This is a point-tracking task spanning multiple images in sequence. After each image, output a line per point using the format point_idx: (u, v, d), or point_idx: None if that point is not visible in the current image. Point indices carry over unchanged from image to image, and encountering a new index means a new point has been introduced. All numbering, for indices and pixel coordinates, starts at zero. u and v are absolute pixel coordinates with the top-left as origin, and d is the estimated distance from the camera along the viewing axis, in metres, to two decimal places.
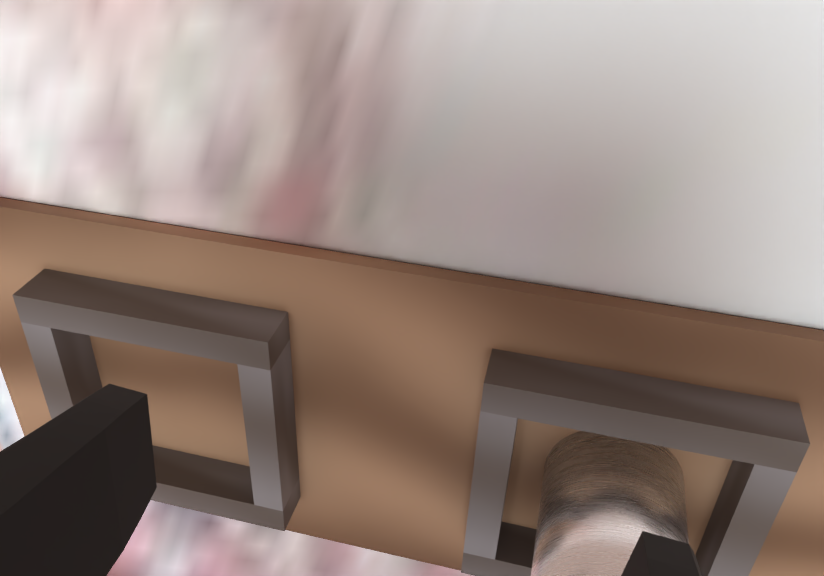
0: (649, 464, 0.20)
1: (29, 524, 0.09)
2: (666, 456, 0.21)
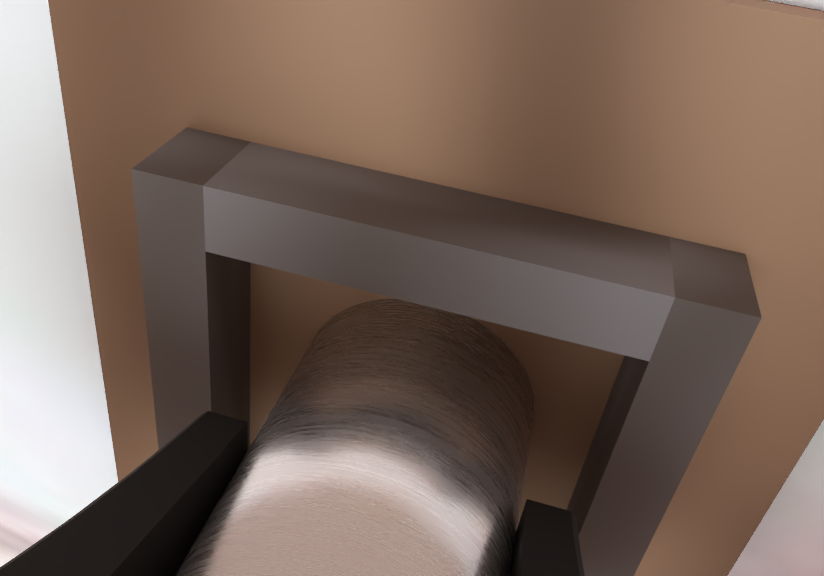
0: (290, 380, 0.12)
1: (150, 561, 0.09)
2: (324, 330, 0.12)
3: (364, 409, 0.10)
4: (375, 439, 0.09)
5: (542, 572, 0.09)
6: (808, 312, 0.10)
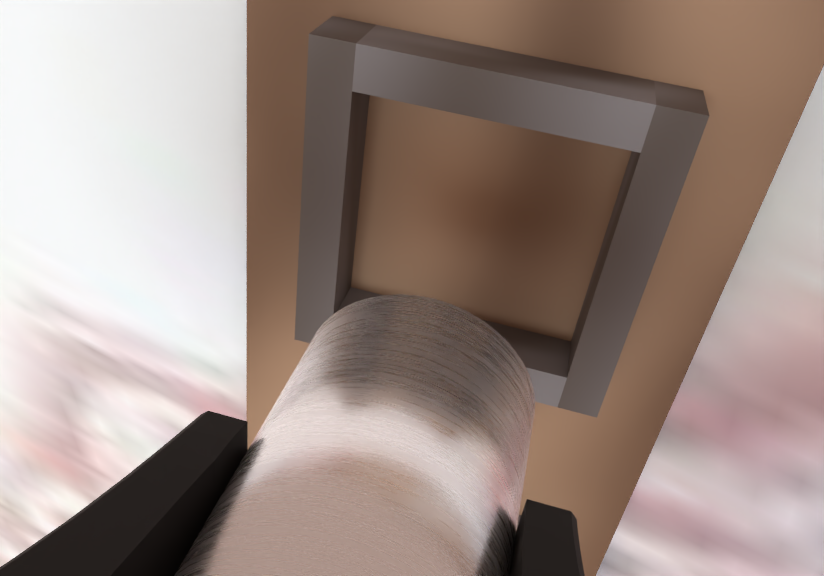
0: (292, 375, 0.12)
1: (150, 561, 0.09)
2: (325, 326, 0.12)
3: (365, 404, 0.10)
4: (377, 433, 0.09)
5: (542, 572, 0.09)
6: (744, 130, 0.16)
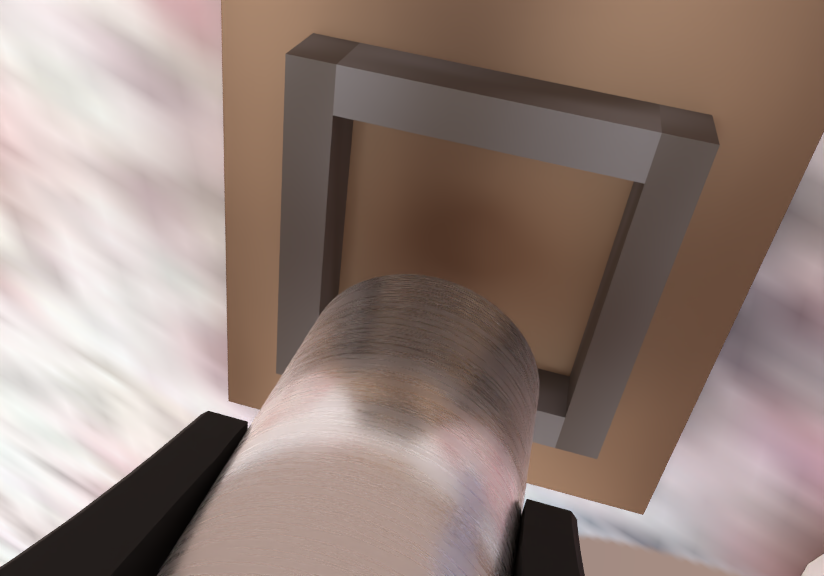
0: (296, 355, 0.12)
1: (150, 561, 0.09)
2: (330, 306, 0.12)
3: (372, 373, 0.10)
4: (385, 398, 0.09)
5: (542, 572, 0.09)
6: None
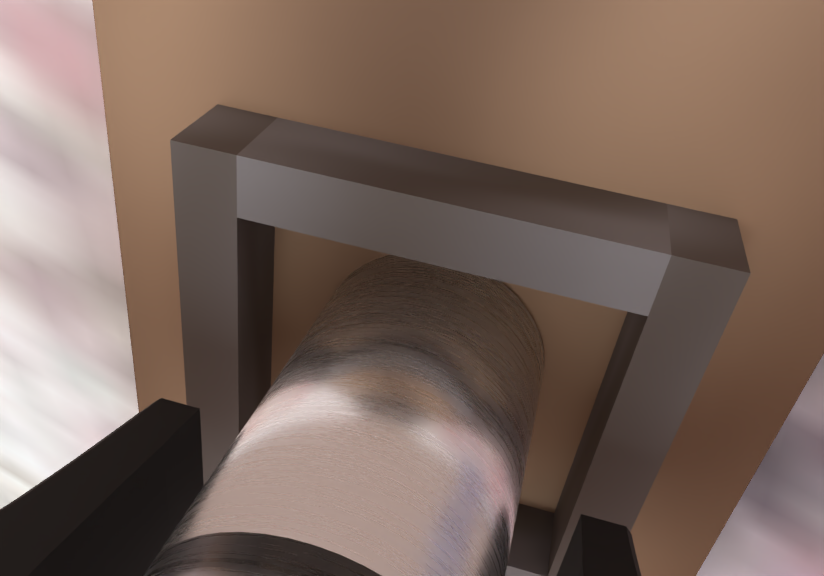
0: None
1: (92, 543, 0.09)
2: (345, 282, 0.13)
3: (383, 341, 0.10)
4: (394, 365, 0.10)
5: None
6: None
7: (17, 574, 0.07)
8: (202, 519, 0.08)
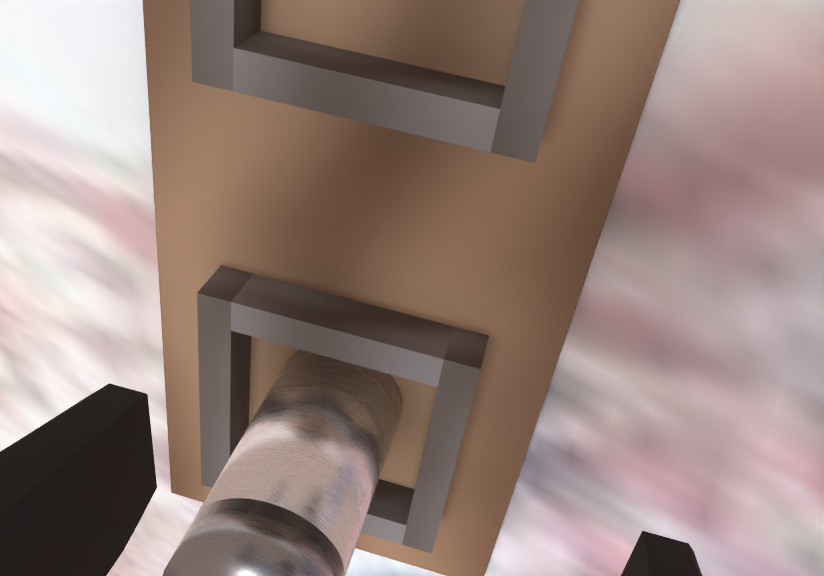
0: (272, 386, 0.22)
1: (29, 524, 0.09)
2: (291, 359, 0.23)
3: (307, 402, 0.20)
4: (311, 416, 0.20)
5: None
6: None
7: None
8: (221, 492, 0.18)
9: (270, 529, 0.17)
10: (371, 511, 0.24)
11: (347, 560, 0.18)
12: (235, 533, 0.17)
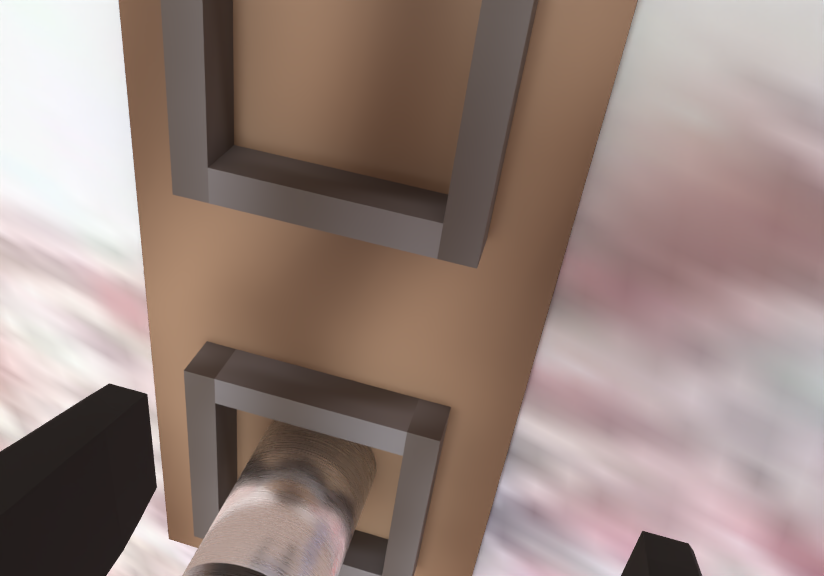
0: (255, 449, 0.24)
1: (29, 524, 0.09)
2: (272, 424, 0.25)
3: (285, 469, 0.22)
4: (288, 482, 0.22)
5: None
6: None
7: None
8: (204, 556, 0.20)
9: None
10: (349, 562, 0.26)
11: None
12: None
